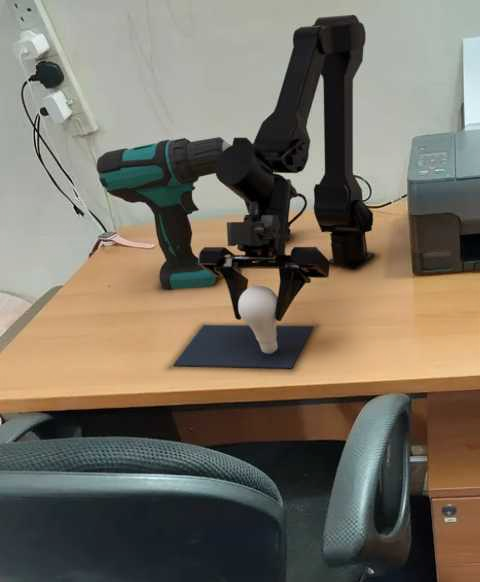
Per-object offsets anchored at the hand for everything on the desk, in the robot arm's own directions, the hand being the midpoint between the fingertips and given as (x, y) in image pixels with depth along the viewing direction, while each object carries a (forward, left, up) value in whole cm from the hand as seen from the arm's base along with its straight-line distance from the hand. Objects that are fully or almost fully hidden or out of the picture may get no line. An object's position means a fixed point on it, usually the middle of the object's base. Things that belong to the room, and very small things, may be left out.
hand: (257, 319), depth 97 cm
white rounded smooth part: (-1, -1, -7) cm, 7 cm away
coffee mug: (-36, -29, -7) cm, 47 cm away
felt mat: (-1, -6, -7) cm, 9 cm away
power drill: (-17, -32, -7) cm, 37 cm away
